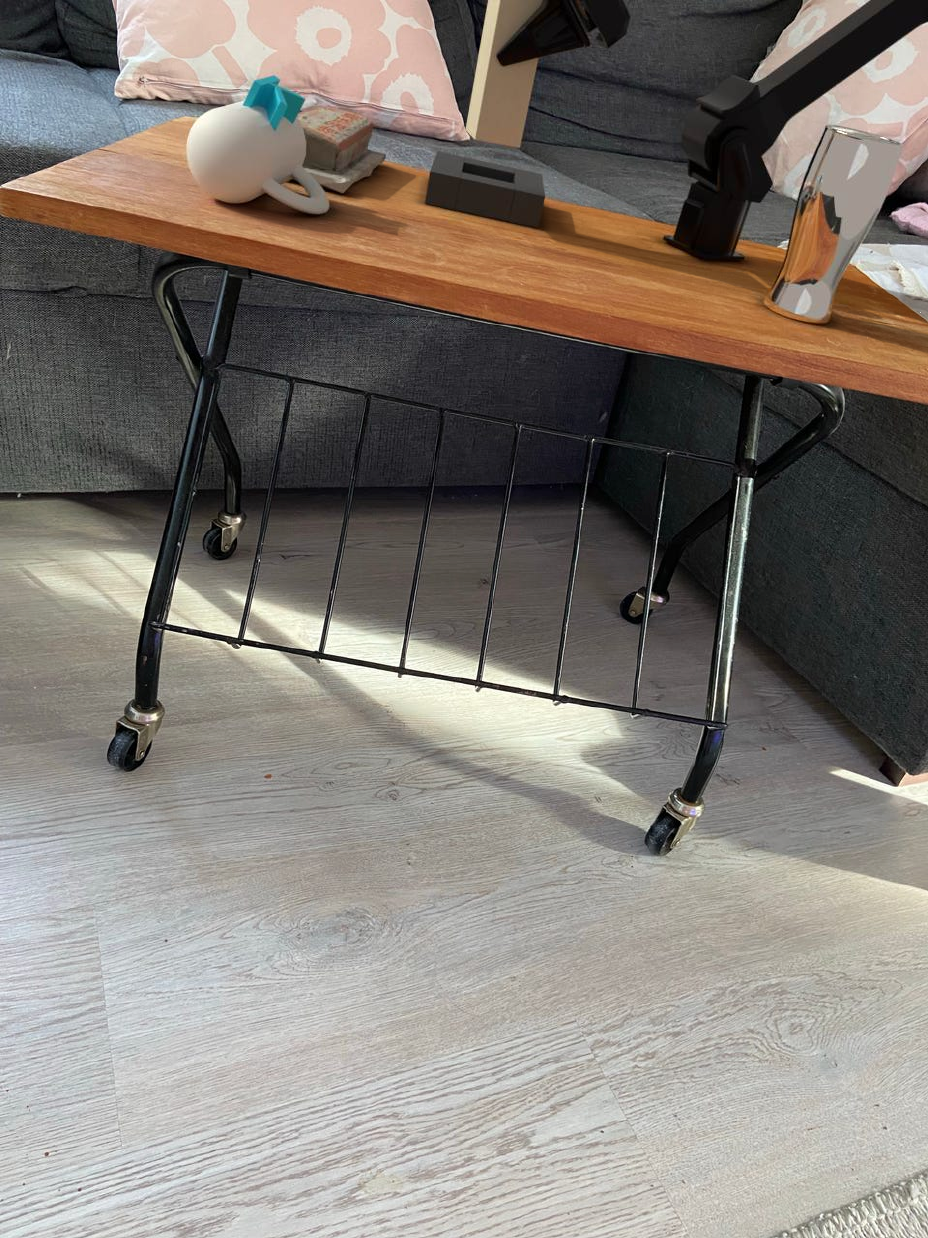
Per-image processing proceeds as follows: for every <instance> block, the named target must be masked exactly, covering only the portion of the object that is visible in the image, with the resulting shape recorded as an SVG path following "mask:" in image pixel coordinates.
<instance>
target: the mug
mask: <svg viewBox="0 0 928 1238" xmlns="http://www.w3.org/2000/svg"><path fill="white" fill-rule="evenodd" d="M280 82H281V79H280V78H279V77H278V76H276V75H275V74H274V75H270V76H266V77H263V78H259V79H255V80H254V81H253V82H252V84H251V87H250V89H249V91H248V92H247V95H246V97H245V99H244V100H242V101H238V102H234V103H230V104H227V105H224V106H223V105H222V106H220V107H219V106H218V107H215V108H212V109H209V110H207V111H206V112H204V113H203V114H201V116H199V117H198V118H197V119H196V121H194V123H193V125H191V128H190V130H189V133H188V136H187V140H186V147H185V148H186V149H185V150H186V152H185V153H186V160H187V164H188V167H189V170H190V172H191V175H192V177H193V178H194V180H195V182H196V183H197V185H199V187H200V188H201V189H202V190H203V191H204V192H206V194H208V195H209V196H211V197H212V198H214V199H216V200H218V201H220V202H223V203H226V204H227V203H228V204H243V203H247V202H250V201H252V200H255V199H256V198H258V197H260V196H262V195H264V194H267V195H269V196H270V197H271V198H273V199H275V200H277V201H278V202H280V203H282V204H283V205H286V206H287V207H290V208H292V209H294V210H296V211H299V212H303V213H306V214H311V215H322V214H326V213H327V212H328V211H329V209H330V200H329V197H328V196H327V194H326V192H325V190H324V188H323V187H321V186H320V185H319V183H318V182H317V181H316V180H315V179H314V178H313V177H312V176H311V175H310V174H309V173H308V172H307V171H306V170H305V169H304V168H303V167H302V165H303V162H304V159H305V156H306V139H305V134H304V130H303V127H302V125H301V123H300V121H299V120H298V118H297V115H298V113H300V112H301V110H302V107H303V106H304V103H305V102H306V99H305V97H303V96H302V95H301V94H299V93H297V92H295V91H292V90H290V89H288V88H285V87H283V86H281V85H279V84H280ZM292 178H294V179H295V180H296V181H295V180H294V181H295V182H297V183H299V184H300V185H301V187H303V189H304V191H306V193H307V195H308V196H309V197H307V196H304V195H301V194H298V193H297V192H295V191H292V190H291V189H288V188H286V187H285V186H283V184H285V183H287V182H289V181H291V179H292Z"/></svg>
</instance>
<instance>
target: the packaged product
mask: <svg viewBox="0 0 928 1238" xmlns="http://www.w3.org/2000/svg"><path fill="white" fill-rule="evenodd" d="M297 118H298V120H299V121H300V123H301V125H302V127H303V130H304V134H305V139H306V156H305V159H304V162H303V165H302V167H303V168H304V169H305V170H306V171H307V172H308V173H309V174H310V175H311V176H312V177H313V178H314V179H315V180H316V181H317V182H318V183H319V185H320V186H321V187H322V188H323V189H327V190H331V191H334V192H338V193H341V194H344V193H345V192H346V191H347V190H348V189H349V188H350V187H351V186H352V185H353V184H354V183H357V182H358V181H360V180H362V179H363V178H366V177H371V175H372V173H373V172H374V169H375V168H376V167H378V166H379V165H381V164H382V163H384V162H385V160H386V158H387V154H386V153H384V152H379V151H374V150H371V149H369V143H370V140H371V138H372V136H373V131H374V126H375V125H374V122H373V121H372V120H371V119H369V118H368V117H367V116H365V115H364V114H362V113H359V112H358V113H357V112H354V111H350V110H346V109H341V108H337V107H334V106H333V107H332V106H328V105H320V104H319V105H315V106H314V107H311V108H308V109H306V110H303V111H299V113H298V115H297ZM290 181H295V182H297V181H296V180H295V179H294V178H292V179H290Z"/></svg>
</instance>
